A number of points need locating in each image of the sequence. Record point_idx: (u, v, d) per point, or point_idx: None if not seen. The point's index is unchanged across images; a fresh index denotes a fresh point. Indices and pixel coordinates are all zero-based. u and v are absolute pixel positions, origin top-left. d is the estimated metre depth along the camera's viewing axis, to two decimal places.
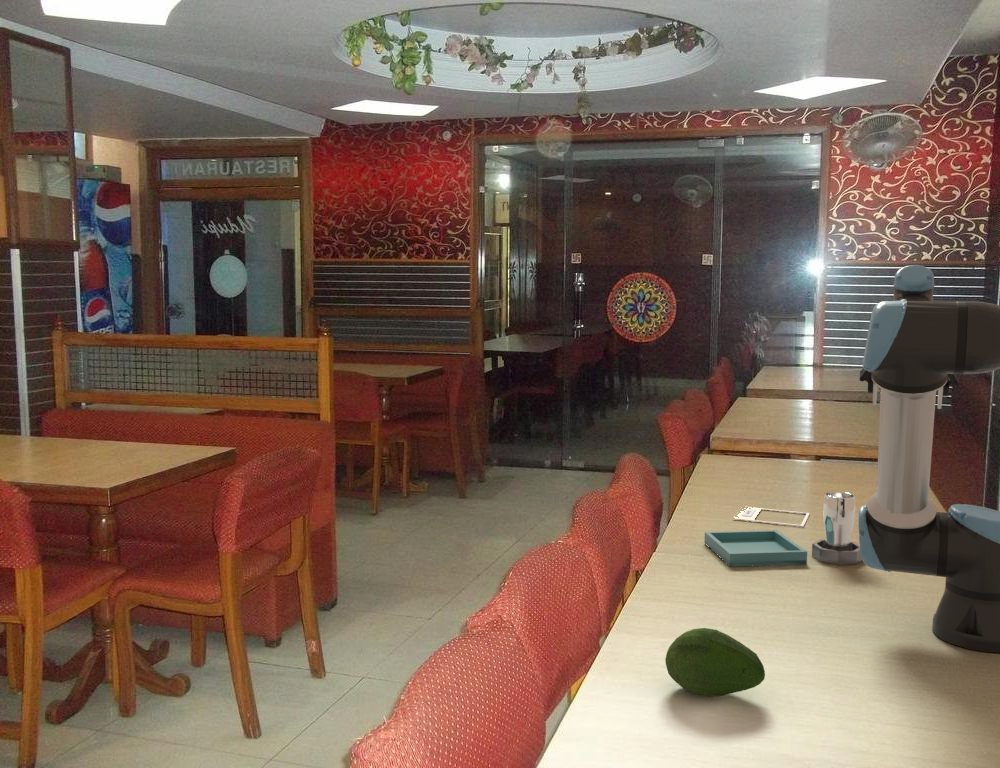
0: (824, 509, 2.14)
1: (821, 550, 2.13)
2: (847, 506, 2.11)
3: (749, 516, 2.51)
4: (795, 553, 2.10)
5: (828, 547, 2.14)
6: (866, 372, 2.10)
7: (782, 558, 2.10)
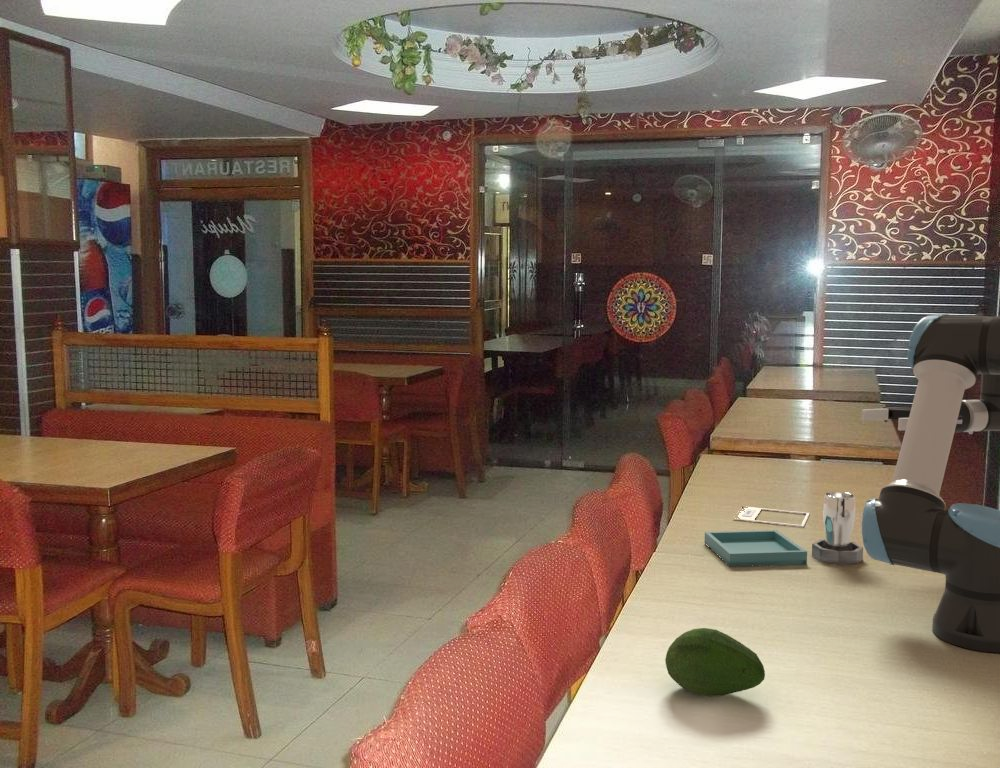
0: (824, 509, 2.14)
1: (821, 550, 2.13)
2: (847, 506, 2.11)
3: (749, 516, 2.51)
4: (795, 553, 2.10)
5: (828, 547, 2.14)
6: (895, 407, 2.24)
7: (782, 558, 2.10)
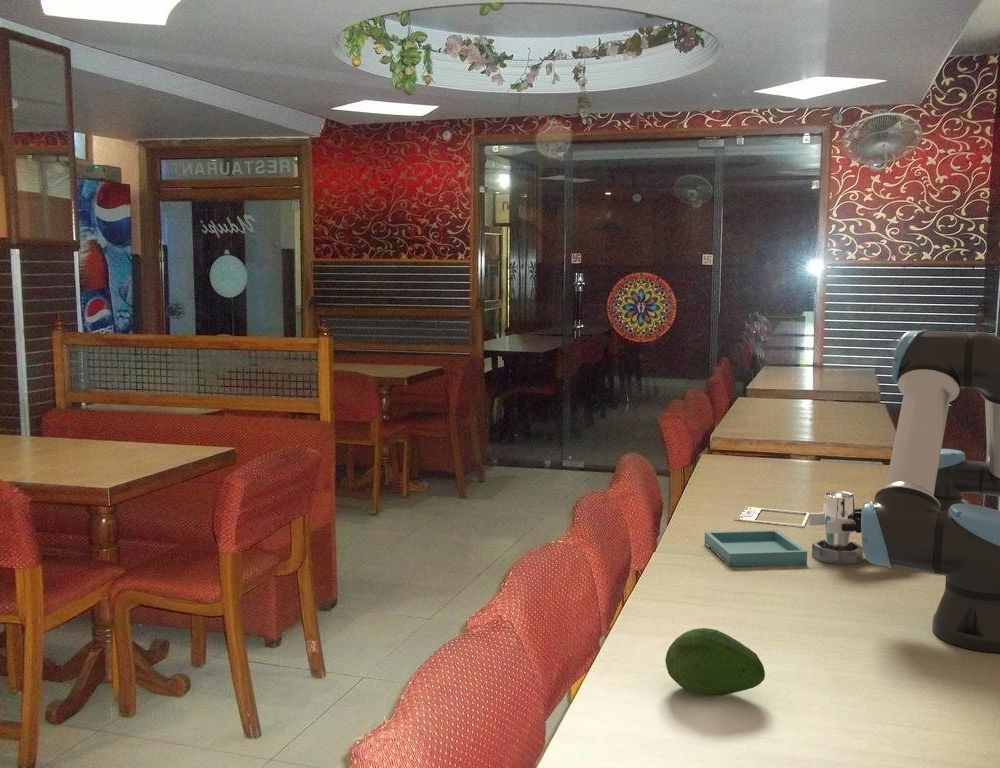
0: (824, 509, 2.14)
1: (821, 550, 2.13)
2: (847, 506, 2.11)
3: (749, 516, 2.51)
4: (795, 553, 2.10)
5: (828, 547, 2.14)
6: None
7: (782, 558, 2.10)
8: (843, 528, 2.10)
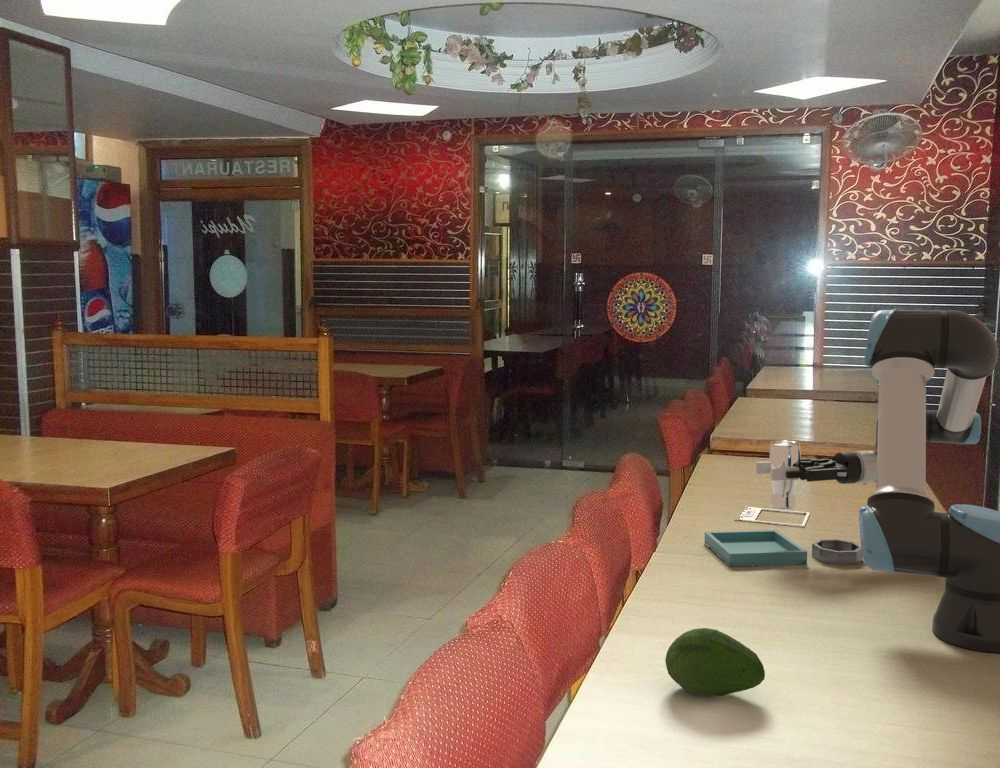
0: (770, 457, 2.16)
1: (821, 550, 2.13)
2: (792, 453, 2.13)
3: (750, 516, 2.51)
4: (795, 553, 2.10)
5: (774, 495, 2.16)
6: None
7: (782, 558, 2.10)
8: (787, 475, 2.12)
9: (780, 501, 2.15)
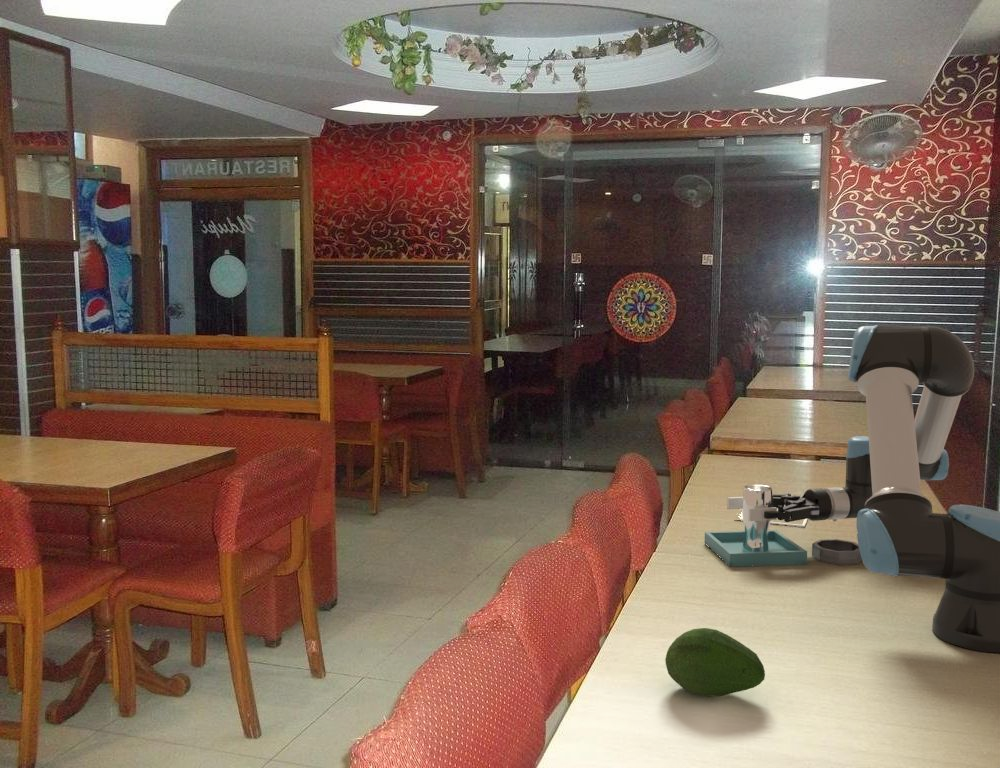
0: (743, 502, 2.17)
1: (821, 550, 2.13)
2: (764, 499, 2.13)
3: None
4: (795, 553, 2.10)
5: (746, 539, 2.17)
6: None
7: (782, 558, 2.10)
8: (765, 515, 2.11)
9: (752, 546, 2.15)
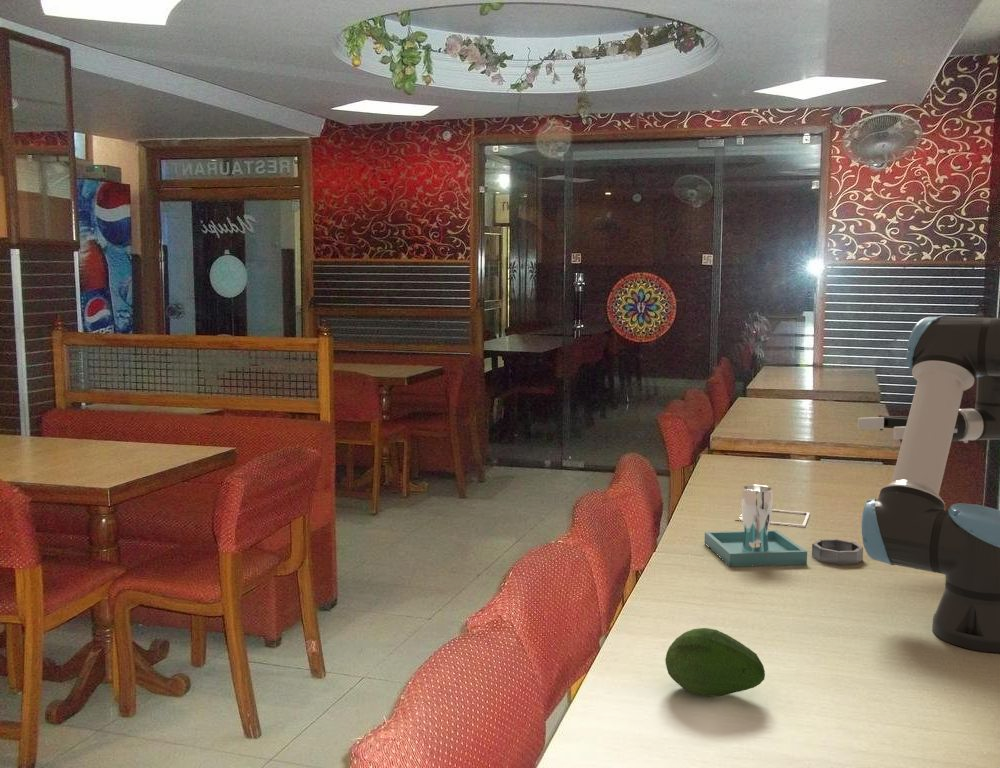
0: (742, 502, 2.17)
1: (821, 550, 2.13)
2: (764, 499, 2.13)
3: None
4: (795, 553, 2.10)
5: (746, 540, 2.17)
6: (891, 416, 2.25)
7: (782, 558, 2.10)
8: None
9: (752, 546, 2.15)
